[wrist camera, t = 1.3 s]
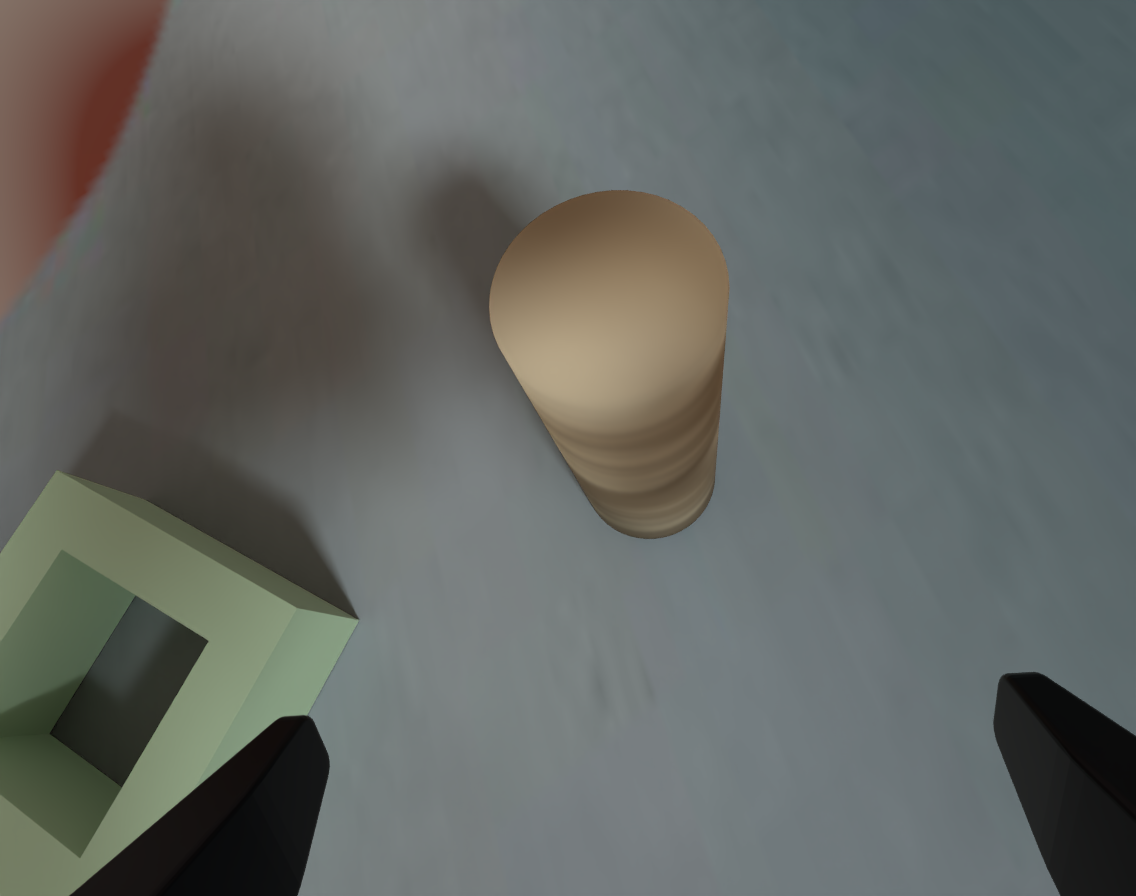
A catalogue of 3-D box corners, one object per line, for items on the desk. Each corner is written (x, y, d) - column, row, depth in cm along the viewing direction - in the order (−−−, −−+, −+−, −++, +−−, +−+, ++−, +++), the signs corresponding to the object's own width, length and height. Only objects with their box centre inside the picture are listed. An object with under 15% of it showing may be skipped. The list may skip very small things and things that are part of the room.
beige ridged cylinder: (682, 560, 23) (666, 441, 12) (563, 506, 24) (447, 352, 13) (735, 442, 24) (768, 228, 13) (618, 396, 25) (554, 165, 14)
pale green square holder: (190, 927, 22) (87, 977, 18) (-23, 759, 25) (-149, 772, 21) (359, 620, 24) (297, 607, 21) (144, 499, 27) (57, 469, 24)
